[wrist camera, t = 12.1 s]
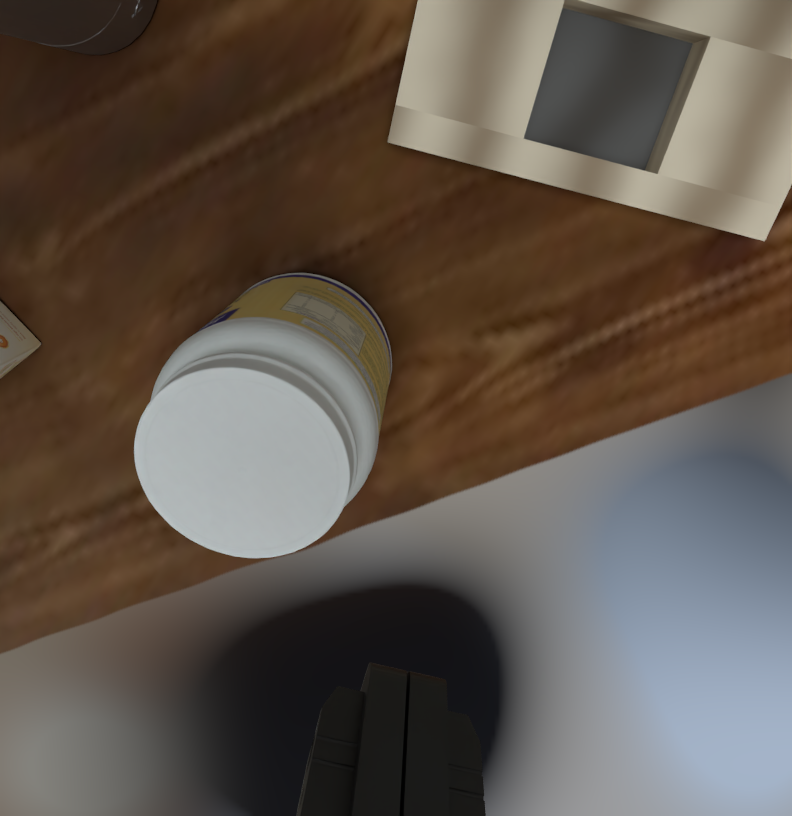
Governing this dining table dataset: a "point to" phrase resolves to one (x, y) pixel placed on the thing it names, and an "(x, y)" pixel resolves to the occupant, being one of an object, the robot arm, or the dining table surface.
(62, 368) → the dining table surface
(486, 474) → the dining table surface
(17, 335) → the coffeecake box
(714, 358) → the dining table surface
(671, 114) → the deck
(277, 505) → the supplement tub
